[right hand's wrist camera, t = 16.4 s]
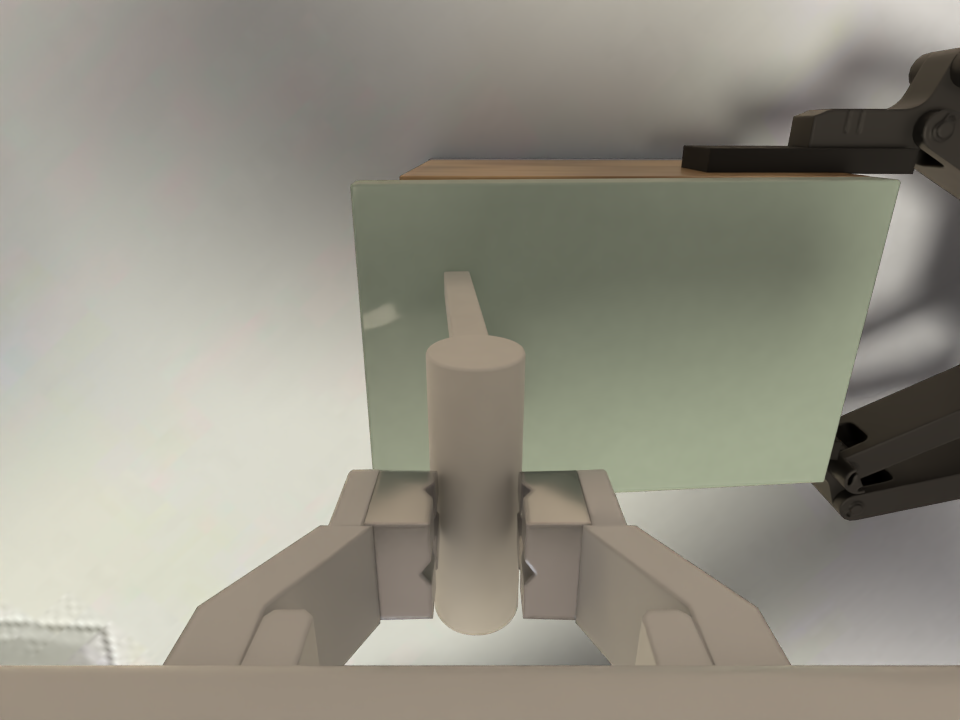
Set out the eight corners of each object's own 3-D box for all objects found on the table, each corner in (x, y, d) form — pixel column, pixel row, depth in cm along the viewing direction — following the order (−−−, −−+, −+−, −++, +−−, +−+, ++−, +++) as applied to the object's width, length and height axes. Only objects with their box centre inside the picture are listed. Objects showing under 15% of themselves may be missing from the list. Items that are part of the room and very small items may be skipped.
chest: (436, 358, 30) (412, 459, 21) (430, 158, 27) (398, 175, 17) (707, 359, 30) (804, 463, 21) (738, 158, 26) (873, 175, 17)
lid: (378, 484, 20) (346, 726, 12) (355, 180, 16) (285, 232, 8) (803, 463, 21) (1035, 670, 13) (871, 176, 17) (1253, 217, 9)
